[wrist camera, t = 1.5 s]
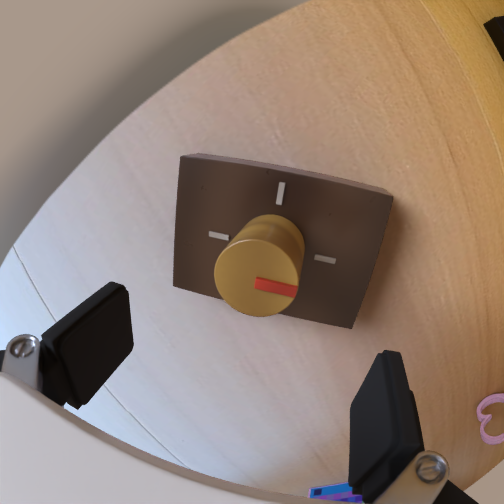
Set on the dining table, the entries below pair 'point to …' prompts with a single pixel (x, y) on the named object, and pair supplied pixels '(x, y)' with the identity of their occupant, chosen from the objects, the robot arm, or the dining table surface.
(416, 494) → the robot arm
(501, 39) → the block
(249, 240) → the lock knob
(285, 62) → the dining table surface
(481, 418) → the pink heart wand
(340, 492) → the box
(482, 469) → the dining table surface
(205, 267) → the rotary dial base
